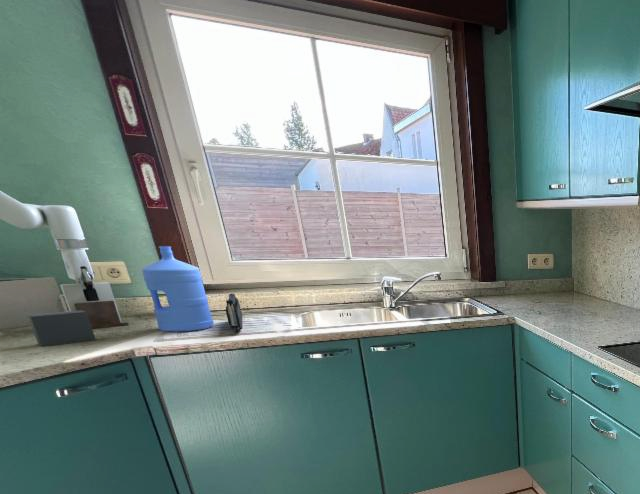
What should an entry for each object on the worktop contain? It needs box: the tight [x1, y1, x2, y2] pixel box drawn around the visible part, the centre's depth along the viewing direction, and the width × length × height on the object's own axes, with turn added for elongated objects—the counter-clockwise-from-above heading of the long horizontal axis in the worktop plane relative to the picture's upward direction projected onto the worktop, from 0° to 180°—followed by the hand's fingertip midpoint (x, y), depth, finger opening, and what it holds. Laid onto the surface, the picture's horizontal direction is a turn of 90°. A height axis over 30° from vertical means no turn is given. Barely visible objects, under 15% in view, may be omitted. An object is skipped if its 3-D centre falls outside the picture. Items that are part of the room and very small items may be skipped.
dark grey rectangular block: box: [26, 310, 97, 347], centre depth 152 cm, size 12×4×9 cm, turn 147°
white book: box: [59, 281, 123, 322], centre depth 173 cm, size 12×2×14 cm, turn 147°
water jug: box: [141, 245, 215, 333], centre depth 172 cm, size 16×16×28 cm
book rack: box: [58, 294, 129, 330], centre depth 174 cm, size 14×12×11 cm
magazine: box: [225, 293, 244, 334], centre depth 181 cm, size 17×3×30 cm
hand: (90, 299), depth 172 cm, fingers open, 3 cm apart
